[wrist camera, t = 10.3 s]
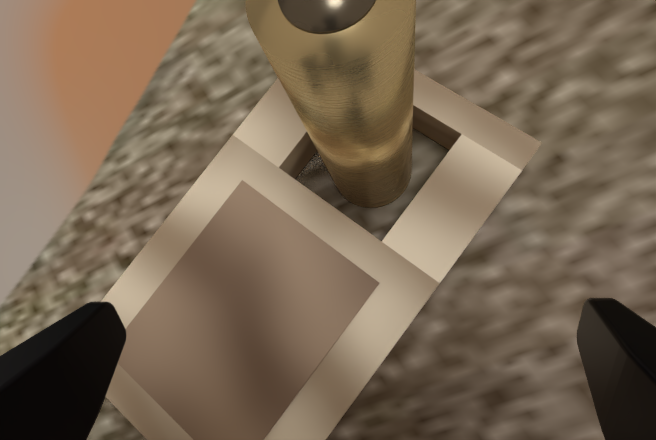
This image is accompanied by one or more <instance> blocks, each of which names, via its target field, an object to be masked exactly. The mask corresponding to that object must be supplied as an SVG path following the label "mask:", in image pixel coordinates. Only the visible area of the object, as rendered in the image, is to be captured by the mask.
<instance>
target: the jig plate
mask: <svg viewBox="0 0 656 440" xmlns="http://www.w3.org/2000/svg"><path fill="white" fill-rule="evenodd" d="M413 128H414V129H416V130H418V131H419V132H421V133H423V134H424V135H426V136H427V137H429V138H431V139H432V140H434V141H435V142H437V143H439V144H440V145H442V146H444V147H445V148H447V149H448V150H450V151H449V152H448V153H447V155H446V156H445V157H444V159H443V160H442V161H441V163H440V164H439V165H438V167H437V168H436V169H435V171H434V172H433V173H432V175H431V176H430V177H429V179H428V180H427V181H426V183H425V184H424V185H423V187H422V188H421V189H420V191H419V192H418V193H417V195H416V196H415V197H414V199H413V200H412V201H411V203H410V204H409V206H408V207H407V208H406V210H405V211H404V212H403V214H402V215H401V216H400V218H399V219H398V220H397V222H396V223H395V224H394V226H393V227H392V228H391V230H390V231H389V232H388V234H387V235H386V236H385V238H384V239H383V240H382V241H380V240H379V239H377V238H376V237H375V236H373V235H372V234H370V233H369V232H368V231H366V230H365V229H363V228H362V227H361V226H359V225H358V224H356V223H355V222H354V221H352V220H351V219H350V218H348V217H347V216H345V215H344V214H343V213H341V212H340V211H338V210H337V209H336V208H334V207H333V206H331V205H330V204H329V203H327V202H326V201H324V200H323V199H322V198H320V197H319V196H317V195H316V194H315V193H313V192H312V191H310V190H309V189H308V188H306V187H305V186H304V185H302V184H301V183H299V182H298V181H297V180H295V179H296V177H297V176H298V175H299V173H300V172H301V171H302V170H303V168H304V167H305V166H306V164H307V163H308V162H309V161H310V159H311V158H312V157H313V155H314V154H315V153H316V151H317V149H316V147H315V145H314V144H313V142H312V140H311V138H310V136H309V134H308V132H307V131H306V129H305V127H304V125H303V123H302V121H301V119H300V118H299V116H298V114H297V112H296V110H295V108H294V106H293V105H292V103H291V101H290V99H289V97H288V95H287V93H286V92H285V90H284V88H283V86H282V84H281V82H280V80H279V79H278V78H277V80H276V81H275V82H274V84H273V85H272V86H271V87H270V89H269V90H268V91H267V92H266V94H265V95H264V96H263V97H262V99H261V100H260V101H259V102H258V104H257V105H256V106H255V108H254V109H253V110H252V111H251V113H250V114H249V115H248V116H247V118H246V119H245V120H244V121H243V123H242V124H241V125H240V126H239V128H238V129H237V130H236V132H235V133H234V134H233V135H232V137H231V138H230V139H229V140H228V142H227V143H226V144H225V145H224V147H223V148H222V149H221V150H220V152H219V153H218V154H217V156H216V157H215V158H214V159H213V161H212V162H211V163H210V164H209V166H208V167H207V168H206V169H205V171H204V172H203V173H202V174H201V176H200V177H199V178H198V180H197V181H196V182H195V183H194V185H193V186H192V187H191V188H190V190H189V191H188V192H187V193H186V195H185V196H184V197H183V198H182V200H181V201H180V202H179V204H178V205H177V206H176V207H175V209H174V210H173V211H172V212H171V214H170V215H169V216H168V217H167V219H166V220H165V221H164V222H163V224H162V225H161V226H160V228H159V229H158V230H157V231H156V233H155V234H154V235H153V236H152V238H151V239H150V240H149V241H148V243H147V244H146V245H145V246H144V248H143V249H142V250H141V252H140V253H139V254H138V255H137V257H136V258H135V259H134V260H133V262H132V263H131V264H130V265H129V267H128V268H127V269H126V270H125V272H124V273H123V274H122V276H121V277H120V278H119V279H118V281H117V282H116V283H115V284H114V286H113V287H112V288H111V289H110V291H109V292H108V293H107V294H106V296H105V297H104V298H103V300H102V301H101V302H110V303H111V304H113V306H114V307H115V309H116V311H117V313H118V315H119V317H120V319H121V321H122V323H123V325H124V327H125V329H126V342H125V345H124V348H123V350H122V353H121V356H120V358H119V361H118V364H117V367H116V369H115V372H114V375H113V377H112V380H111V383H110V386H109V388H108V391H107V394H106V397H107V398H108V399H109V400H110V402H111V403H112V404H113V405H114V406H115V407H116V408H117V409H118V410H119V411H120V412H121V413H122V414H123V415H124V416H125V417H126V418H127V419H128V420H129V421H130V423H131V424H132V425H133V426H134V427H135V428H136V429H137V430H138V431H139V432H140V433H141V434H142V435H143V436H144V437H145V438H146V439H147V440H326V439H327V437H328V436H329V434H330V433H331V432H332V430H333V429H334V428H335V426H336V425H337V423H338V422H339V421H340V419H341V418H342V417H343V415H344V414H345V412H346V411H347V410H348V408H349V407H350V406H351V404H352V403H353V402H354V400H355V399H356V397H357V396H358V395H359V393H360V392H361V391H362V389H363V388H364V386H365V385H366V384H367V382H368V381H369V380H370V378H371V377H372V375H373V374H374V373H375V371H376V370H377V369H378V367H379V366H380V365H381V363H382V362H383V360H384V359H385V358H386V356H387V355H388V354H389V352H390V351H391V349H392V348H393V347H394V345H395V344H396V343H397V341H398V340H399V338H400V337H401V336H402V334H403V333H404V332H405V330H406V329H407V327H408V326H409V325H410V323H411V322H412V321H413V319H414V318H415V317H416V315H417V314H418V312H419V311H420V310H421V308H422V307H423V306H424V304H425V303H426V301H427V300H428V299H429V297H430V296H431V295H432V293H433V292H434V290H435V289H436V288H437V286H438V285H439V284H440V282H441V281H442V280H443V278H444V277H445V275H446V274H447V273H448V271H449V270H450V269H451V267H452V266H453V264H454V263H455V262H456V260H457V259H458V258H459V256H460V255H461V253H462V252H463V251H464V249H465V248H466V247H467V245H468V244H469V243H470V241H471V240H472V238H473V237H474V236H475V234H476V233H477V232H478V230H479V229H480V227H481V226H482V225H483V223H484V222H485V221H486V219H487V218H488V216H489V215H490V214H491V212H492V211H493V210H494V208H495V207H496V205H497V204H498V203H499V201H500V200H501V199H502V197H503V196H504V195H505V193H506V192H507V190H508V189H509V188H510V186H511V185H512V184H513V182H514V181H515V179H516V178H517V177H518V175H519V174H520V173H521V171H522V170H523V168H524V167H525V166H526V164H527V163H528V162H529V160H530V159H531V158H532V156H533V155H534V153H535V152H536V151H537V149H538V148H539V147H540V145H541V144H542V143H541V142H540V141H538V140H536V139H534V138H533V137H531V136H529V135H528V134H526V133H524V132H522V131H521V130H519V129H517V128H515V127H514V126H512V125H510V124H508V123H507V122H505V121H503V120H501V119H500V118H498V117H496V116H495V115H493V114H491V113H489V112H488V111H486V110H484V109H482V108H481V107H479V106H477V105H475V104H474V103H472V102H470V101H468V100H467V99H465V98H463V97H461V96H460V95H458V94H456V93H455V92H453V91H451V90H449V89H448V88H446V87H444V86H442V85H441V84H439V83H437V82H435V81H434V80H432V79H430V78H428V77H427V76H425V75H423V74H422V73H420V72H418V71H416V70H415V69H414V92H413Z"/></svg>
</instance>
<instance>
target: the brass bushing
mask: <svg viewBox="0 0 656 440" xmlns="http://www.w3.org/2000/svg"><path fill="white" fill-rule="evenodd" d="M246 12H247V17H248V20H249V23H250V26H251V28H252V30H253V32H254V34H255V36H256V38H257V39H258V41H259V43H260V45H261V47H262V49H263V51H264V52H265V54H266V56H267V58H268V60H269V62H270V64H271V65H272V67H273V69H274V71H275V73H276V75H277V77H278V79H279V80H280V82H281V84H282V86H283V88H284V90H285V92H286V93H287V95H288V97H289V99H290V101H291V103H292V105H293V106H294V108H295V110H296V112H297V114H298V116H299V118H300V119H301V121H302V123H303V125H304V127H305V129H306V131H307V132H308V134H309V136H310V138H311V140H312V142H313V144H314V145H315V147H316V149H317V151H318V153H319V155H320V157H321V158H322V160H323V162H324V164H325V166H326V168H327V170H328V171H329V173H330V175H331V177H332V179H333V181H334V183H335V184H336V186H337V188H338V190H339V191H340V193H341V194H342V195H343V196H344V197H345V198H346V199H347V200H348V201H350V202H351V203H353V204H355V205H358V206H361V207H367V208H374V207H381V206H384V205H387V204H389V203H391V202H393V201H394V200H396V199H397V198H398V197H399V196H400V195H401V194H402V193H403V192H404V191H405V189H406V188H407V186H408V184H409V181H410V178H411V169H412V131H413V92H414V54H415V16H416V0H246Z"/></svg>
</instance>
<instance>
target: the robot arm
mask: <svg viewBox="0 0 656 440" xmlns="http://www.w3.org/2000/svg"><path fill="white" fill-rule="evenodd" d="M125 342H126V329H125V327H124V325H123V323H122V321H121V319H120V317H119V315H118V313H117V311H116V309H115V307H114V306H113V304H111V303H110V302H90V303H87V304H85V305H84V306H82V307H80V308H79V309H77V310H76V311H74V312H72V313H71V314H69V315H67V316H66V317H64V318H62V319H61V320H59V321H57V322H56V323H54V324H52V325H51V326H49V327H47V328H46V329H44V330H42V331H41V332H39V333H37V334H36V335H34V336H33V337H31V338H29V339H28V340H26V341H24V342H23V343H21V344H19V345H18V346H16V347H14V348H13V349H11V350H9V351H8V352H6V353H4V354H3V355H1V356H0V440H86V439H87V437H88V435H89V433H90V431H91V429H92V427H93V425H94V423H95V420H96V418H97V416H98V414H99V412H100V409H101V407H102V404H103V402H104V399H105V396H106V394H107V391H108V388H109V386H110V383H111V380H112V377H113V375H114V372H115V369H116V367H117V364H118V361H119V358H120V356H121V353H122V350H123V348H124V345H125ZM577 344H578V348H579V352H580V355H581V359H582V363H583V366H584V370H585V373H586V377H587V380H588V384H589V388H590V391H591V395H592V398H593V402H594V405H595V409H596V413H597V416H598V419H599V423H600V426H601V429H602V432H603V435H604V437H605V440H656V327H655V326H653V325H652V324H650V323H649V322H647V321H646V320H645V319H643V318H642V317H640V316H639V315H637V314H636V313H635V312H633V311H632V310H630V309H629V308H627V307H626V306H624V305H623V304H622V303H620V302H619V301H617V300H615V299H613V298H589V299H587V300H586V301H585V303H584V305H583V309H582V313H581V317H580V321H579V326H578V330H577Z"/></svg>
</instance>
